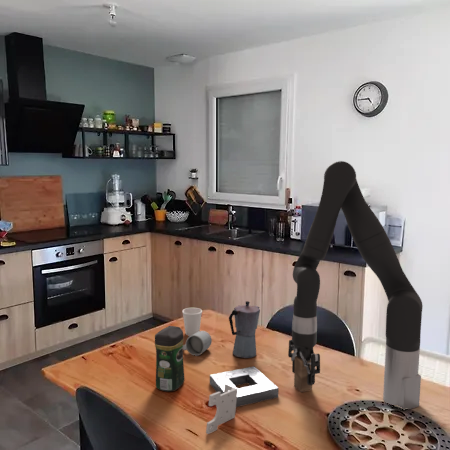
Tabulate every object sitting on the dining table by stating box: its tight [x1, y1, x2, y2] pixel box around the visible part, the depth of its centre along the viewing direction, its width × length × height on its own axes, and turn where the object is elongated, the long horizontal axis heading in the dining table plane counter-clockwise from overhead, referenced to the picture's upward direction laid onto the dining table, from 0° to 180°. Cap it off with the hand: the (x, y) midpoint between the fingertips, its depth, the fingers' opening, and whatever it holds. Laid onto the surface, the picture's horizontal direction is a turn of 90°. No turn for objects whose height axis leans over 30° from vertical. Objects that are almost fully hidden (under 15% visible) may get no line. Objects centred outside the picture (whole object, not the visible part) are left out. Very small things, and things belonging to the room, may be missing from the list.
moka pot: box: [228, 301, 261, 359], centre depth 164 cm, size 10×15×20 cm, turn 137°
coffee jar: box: [154, 325, 185, 392], centre depth 140 cm, size 10×8×19 cm
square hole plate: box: [209, 366, 280, 408], centre depth 138 cm, size 16×16×3 cm
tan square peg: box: [293, 356, 313, 393], centre depth 139 cm, size 4×4×10 cm
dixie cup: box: [181, 307, 203, 337], centre depth 185 cm, size 8×8×10 cm
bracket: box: [205, 384, 237, 435], centre depth 120 cm, size 11×4×10 cm, turn 141°
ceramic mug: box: [183, 330, 213, 357], centre depth 168 cm, size 11×8×8 cm
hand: (303, 378), depth 140 cm, fingers open, 8 cm apart
